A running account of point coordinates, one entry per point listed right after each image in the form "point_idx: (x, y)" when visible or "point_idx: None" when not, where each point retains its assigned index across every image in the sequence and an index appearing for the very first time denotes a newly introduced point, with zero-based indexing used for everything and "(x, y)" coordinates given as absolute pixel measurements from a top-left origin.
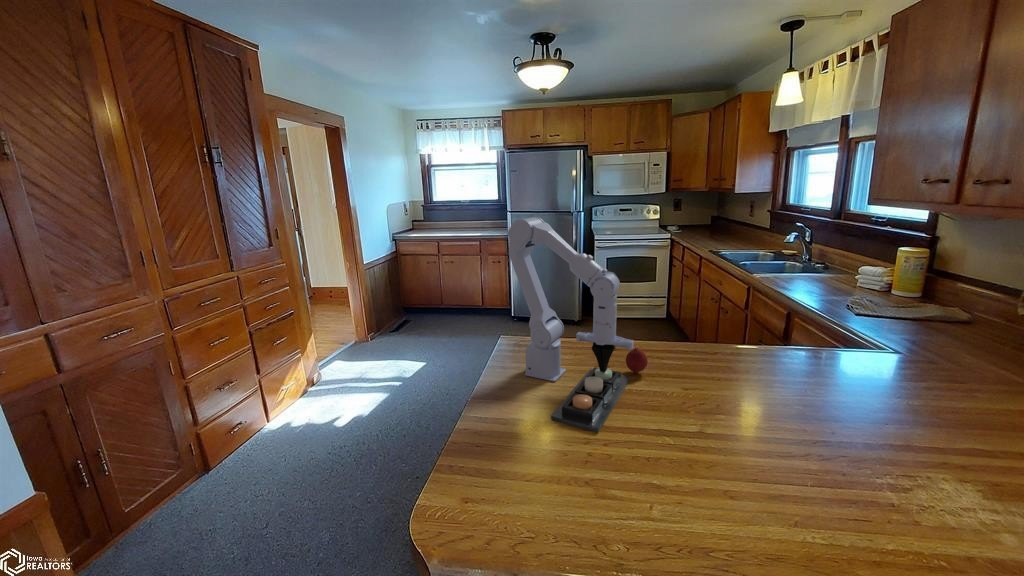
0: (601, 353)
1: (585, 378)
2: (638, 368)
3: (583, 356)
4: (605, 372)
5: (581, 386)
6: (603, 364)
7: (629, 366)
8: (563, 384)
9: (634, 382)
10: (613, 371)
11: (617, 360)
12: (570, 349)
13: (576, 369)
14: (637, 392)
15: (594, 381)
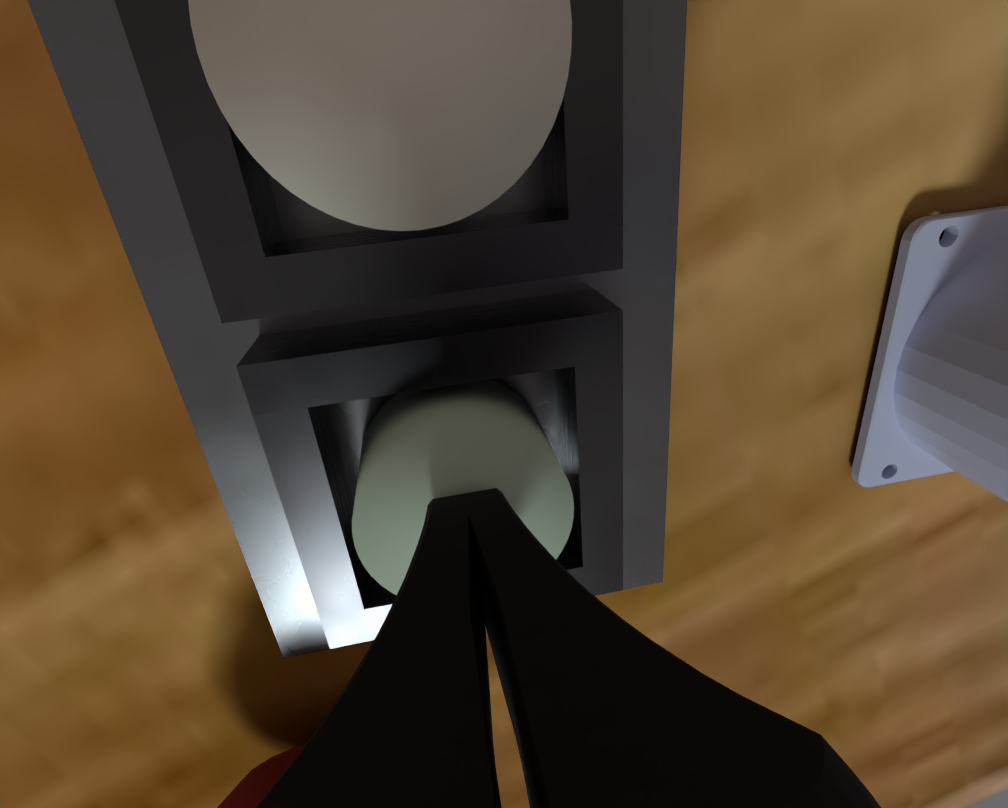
0: (531, 756)
1: (640, 403)
2: (240, 790)
3: None
4: None
5: (583, 2)
6: (448, 563)
7: None
8: (810, 229)
9: (239, 625)
10: None
11: None
12: (880, 746)
13: (769, 545)
14: (94, 492)
15: (361, 3)
